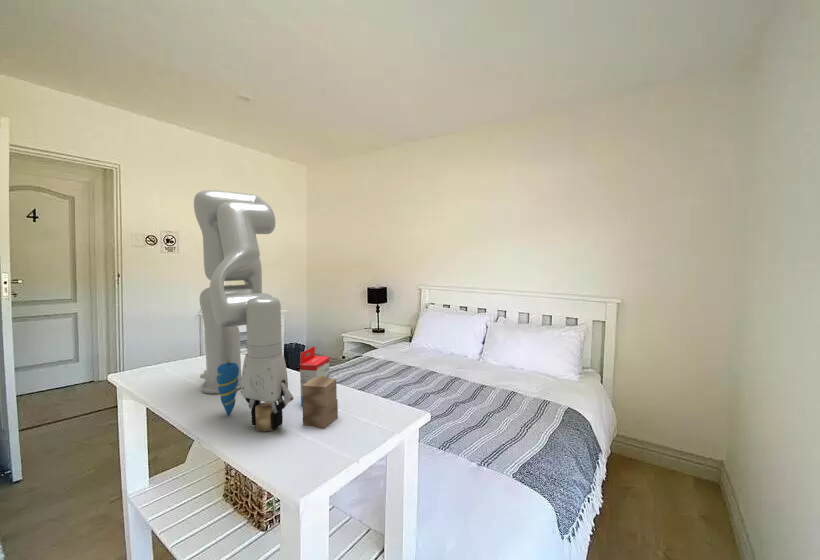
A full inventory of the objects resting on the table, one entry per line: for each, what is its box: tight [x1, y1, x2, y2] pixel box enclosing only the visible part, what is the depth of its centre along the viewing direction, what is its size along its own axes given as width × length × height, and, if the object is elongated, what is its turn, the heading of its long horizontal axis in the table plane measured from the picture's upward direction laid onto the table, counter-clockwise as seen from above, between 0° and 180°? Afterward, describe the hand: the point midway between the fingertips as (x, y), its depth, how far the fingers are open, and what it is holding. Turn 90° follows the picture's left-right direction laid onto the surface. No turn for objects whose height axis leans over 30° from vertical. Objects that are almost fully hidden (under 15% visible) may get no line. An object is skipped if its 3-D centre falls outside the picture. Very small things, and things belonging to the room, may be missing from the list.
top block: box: [302, 377, 338, 408], centre depth 88 cm, size 6×6×5 cm
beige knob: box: [255, 401, 278, 433], centre depth 85 cm, size 5×5×5 cm
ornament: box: [217, 358, 239, 417], centre depth 91 cm, size 5×5×15 cm
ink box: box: [299, 345, 330, 407], centre depth 100 cm, size 8×5×15 cm, turn 168°
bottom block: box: [301, 398, 339, 430], centre depth 88 cm, size 6×6×5 cm
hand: (267, 424), depth 85 cm, fingers closed on beige knob, 5 cm apart
